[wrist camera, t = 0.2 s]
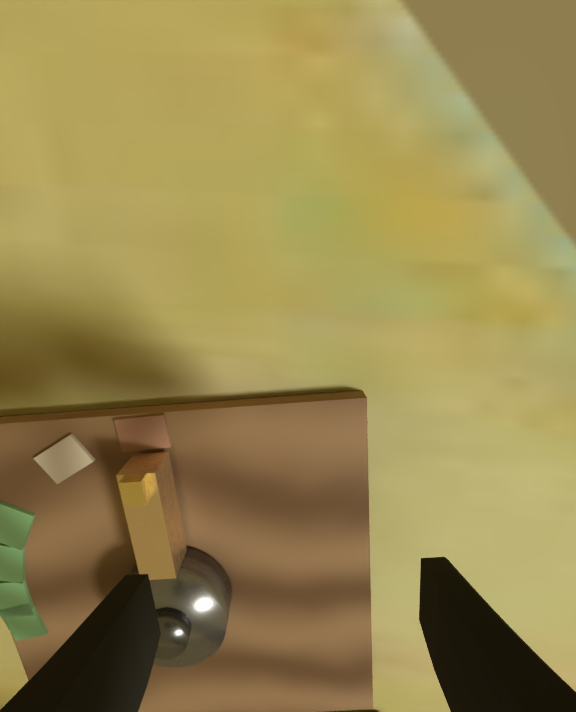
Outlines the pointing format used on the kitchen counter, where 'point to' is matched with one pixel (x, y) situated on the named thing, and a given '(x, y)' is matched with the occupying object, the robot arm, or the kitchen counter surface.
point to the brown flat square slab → (204, 540)
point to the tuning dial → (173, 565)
